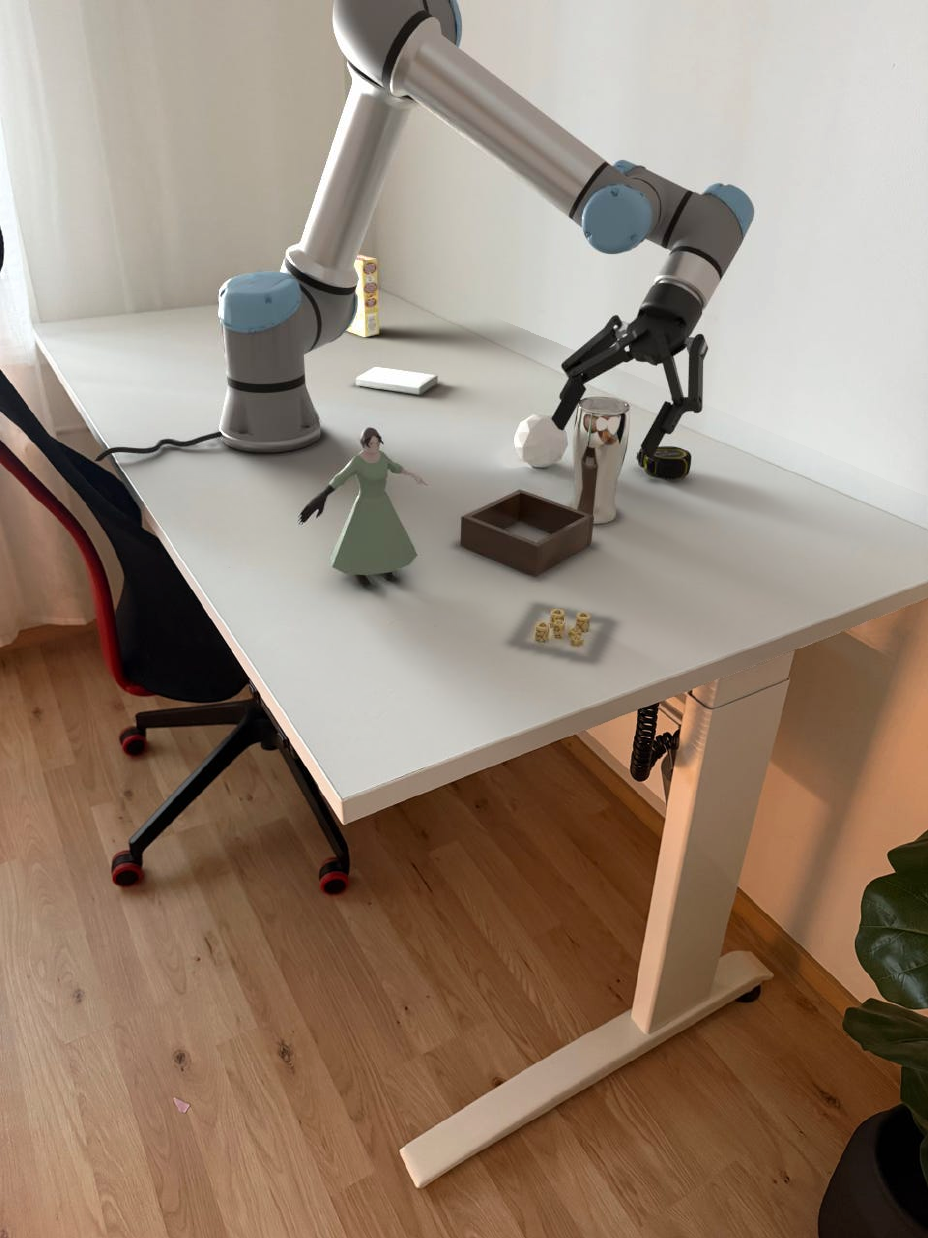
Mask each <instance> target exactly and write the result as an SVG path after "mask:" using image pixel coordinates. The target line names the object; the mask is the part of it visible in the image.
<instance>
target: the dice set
mask: <svg viewBox="0 0 928 1238" xmlns="http://www.w3.org/2000/svg"><path fill="white" fill-rule="evenodd" d="M590 621H591V614H590V613H588V612H584V611H580V612H578V613H576V619H575V626H574V627H571V628H569V629H568V630H567V631H568V632H567V636H568V637H570V638H569V643H570V644H571V646H573V647H574V648H577V647H581V646H583V645H584V640H585V639H584V638H583V637H582V633H583V634H584V633H587V632H589V631H590ZM566 624H567V623H566V621H565V610H562V609H561V608H554V609H552V610H551V611H550V618H549V623H548V622H546V621H538V622H536V623H535V629H534V641H536V642H537V643H547V642H548V641H549V638H550V628H551V629H552V632H553V635H552V638H553V639H557V640H563V638H564V631H565V630H566Z"/></svg>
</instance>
